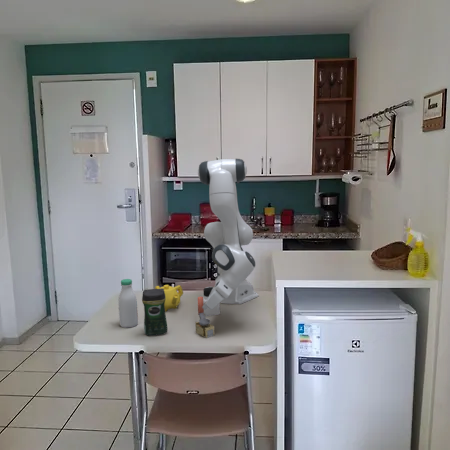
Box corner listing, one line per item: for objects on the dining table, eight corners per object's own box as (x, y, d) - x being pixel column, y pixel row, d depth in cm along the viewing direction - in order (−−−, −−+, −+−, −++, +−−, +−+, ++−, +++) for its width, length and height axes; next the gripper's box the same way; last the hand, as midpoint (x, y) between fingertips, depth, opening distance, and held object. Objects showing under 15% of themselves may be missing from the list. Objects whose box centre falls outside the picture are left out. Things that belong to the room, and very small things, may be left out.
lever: (210, 325, 173) (210, 306, 171) (200, 326, 172) (199, 307, 170) (205, 313, 185) (205, 296, 184) (195, 314, 185) (194, 296, 183)
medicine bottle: (220, 314, 195) (219, 289, 193) (205, 316, 193) (204, 291, 191) (216, 309, 202) (215, 284, 200) (201, 311, 200) (200, 286, 198)
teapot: (140, 306, 208) (139, 284, 206) (172, 298, 218) (171, 277, 216) (161, 318, 192) (159, 294, 190) (194, 309, 203) (193, 286, 201)
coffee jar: (167, 327, 182) (165, 285, 178) (167, 335, 174) (165, 291, 171) (144, 329, 180) (141, 287, 177) (143, 337, 173) (141, 293, 169)
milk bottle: (137, 327, 183) (135, 282, 179) (119, 328, 182) (116, 283, 178) (138, 320, 190) (135, 277, 187) (120, 321, 189) (117, 278, 186)
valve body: (194, 331, 177) (194, 322, 176) (204, 328, 180) (204, 319, 179) (205, 338, 170) (205, 328, 170) (215, 334, 173) (215, 325, 173)
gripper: (223, 272, 189) (202, 293, 192) (216, 286, 169) (194, 310, 172) (233, 281, 189) (213, 303, 192) (228, 297, 169) (205, 321, 172)
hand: (204, 306), depth 182 cm, fingers closed
